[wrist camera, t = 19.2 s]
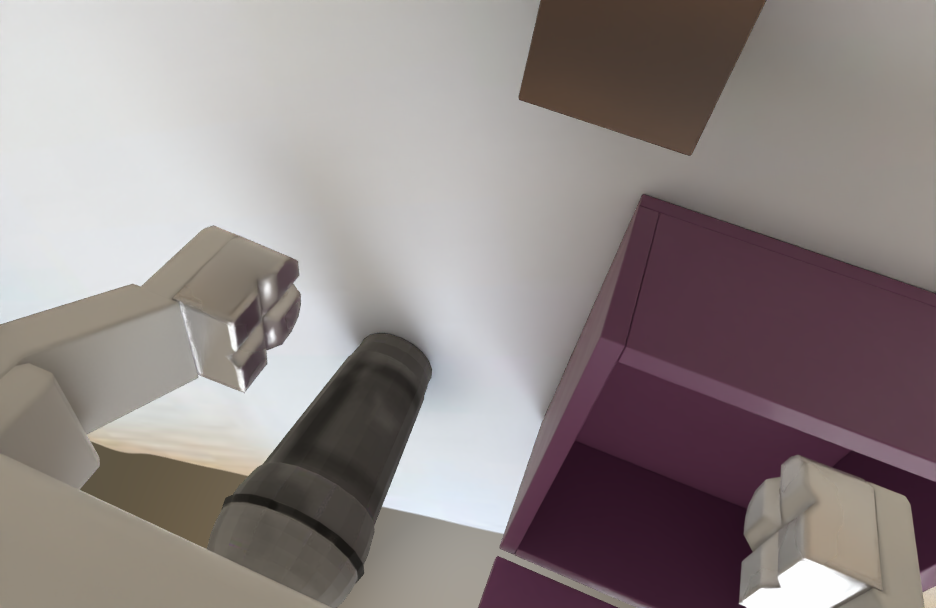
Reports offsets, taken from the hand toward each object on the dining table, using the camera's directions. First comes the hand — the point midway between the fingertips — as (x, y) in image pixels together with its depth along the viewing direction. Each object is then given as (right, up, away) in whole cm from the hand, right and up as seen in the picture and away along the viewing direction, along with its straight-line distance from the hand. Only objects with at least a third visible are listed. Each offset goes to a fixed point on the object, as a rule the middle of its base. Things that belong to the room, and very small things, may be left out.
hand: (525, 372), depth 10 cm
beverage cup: (-5, -2, +27) cm, 28 cm away
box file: (+11, -3, +19) cm, 22 cm away
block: (+5, +11, +9) cm, 15 cm away
